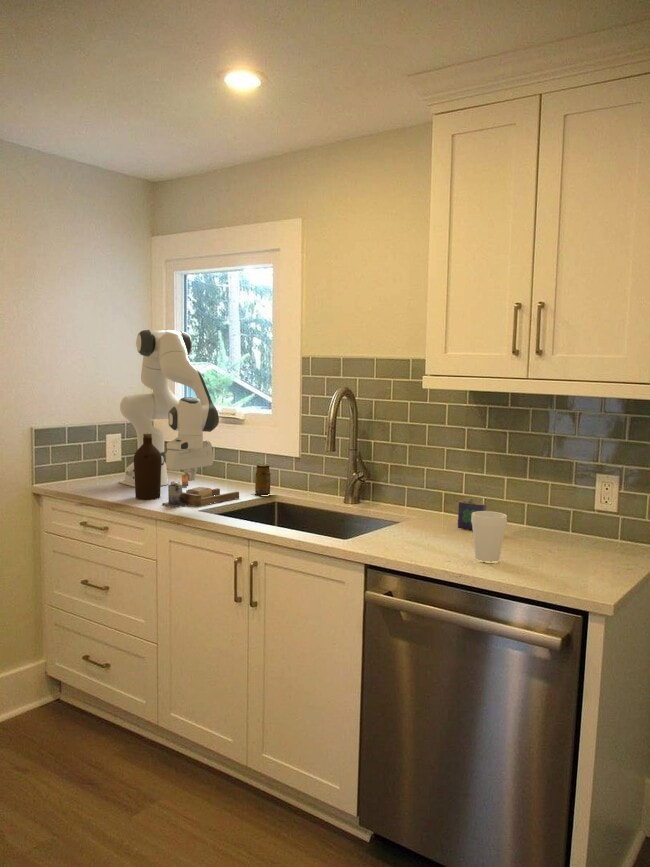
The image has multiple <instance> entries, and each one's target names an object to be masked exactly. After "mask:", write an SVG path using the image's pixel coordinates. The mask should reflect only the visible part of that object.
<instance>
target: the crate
mask: <svg viewBox="0 0 650 867" xmlns="http://www.w3.org/2000/svg"><path fill="white" fill-rule="evenodd" d="M212 489H213V488H211V487H204V486H203V487H202V486H198V487H192V488H189V489H187V490H185V493H191V494H196V495H201V498H205V497H210V496H212Z"/></svg>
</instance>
